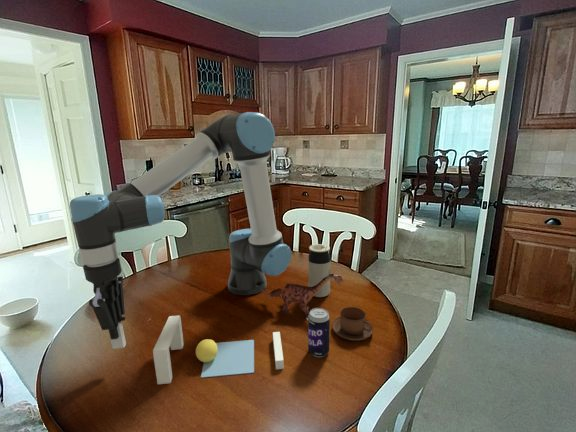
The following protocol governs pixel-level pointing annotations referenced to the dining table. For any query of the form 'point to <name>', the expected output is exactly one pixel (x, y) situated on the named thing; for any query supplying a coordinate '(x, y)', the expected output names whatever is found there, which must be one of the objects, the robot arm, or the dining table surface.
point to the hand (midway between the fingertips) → (119, 346)
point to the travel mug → (319, 268)
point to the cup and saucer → (352, 324)
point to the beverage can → (318, 332)
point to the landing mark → (231, 359)
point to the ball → (206, 350)
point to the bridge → (167, 348)
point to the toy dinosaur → (301, 293)
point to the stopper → (278, 351)
